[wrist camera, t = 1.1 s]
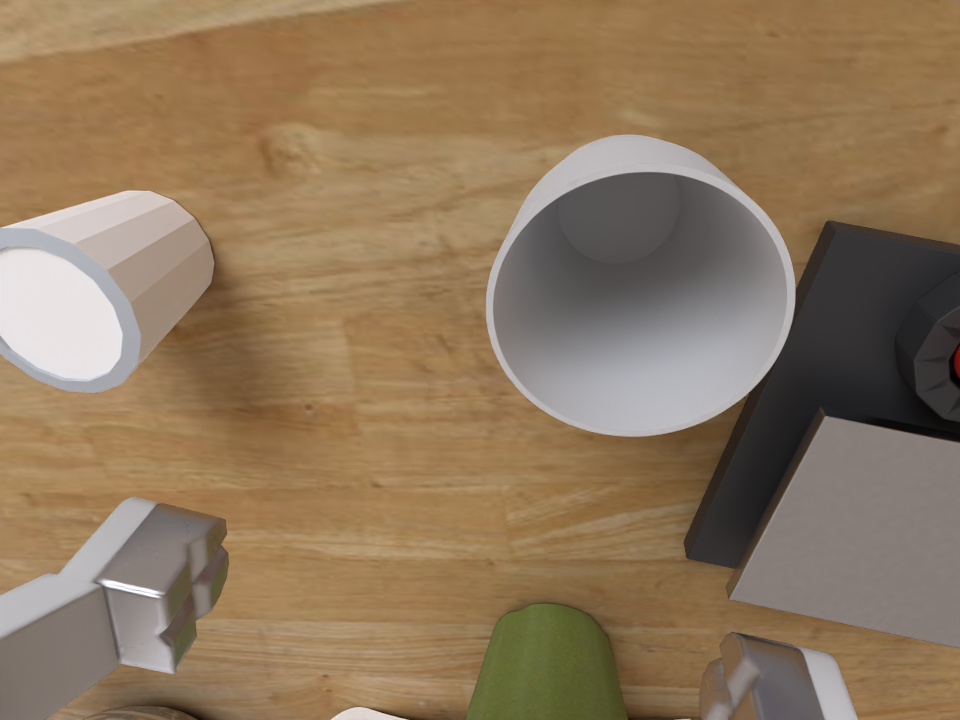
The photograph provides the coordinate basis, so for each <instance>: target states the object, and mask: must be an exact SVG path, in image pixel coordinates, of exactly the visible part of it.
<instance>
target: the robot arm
mask: <svg viewBox="0 0 960 720" xmlns="http://www.w3.org/2000/svg"><path fill="white" fill-rule="evenodd" d="M226 535H227V528H226V520H225V519H222V518H219V517H215V516H211V515H207V514H203V513H199V512H195V511H192V510H188V509H184V508H180V507H176V506H172V505H168V504H164V503H159V502H155V501H151V500H147V499H142V498H138V497H134V496H132V497H130V498H128V499H126V500H125V501H123V502H121V503H120V504H119V506H118V507H117V508H116V509H115V510H114V511H113V512H112V513H111V515H110V516H109V517H108V518H107V519H106V520H105V521H104V523H103V524H102V525H101V526H100V527H99V528H98V529H97V530H96V532H95V533H94V534H93V535H92V536H91V537H90V538H89V539H88V541H87V542H86V543H85V544H84V545H83V546H82V547H81V549H80V550H79V551H78V552H77V553H76V554H75V555H74V556H73V558H72V559H71V560H70V561H69V562H68V563H67V564H66V565H65V567H64V568H63V569H62V570H61V571H60V572H59V573H58V575H57V574H52V573H46V574H44V575H42V576H40V577H38V578H36V579H34V580H31V581H29V582H27V583H25V584H23V585H21V586H19V587H17V588H14V589H12V590H10V591H8V592H6V593H4V594H2V595H0V720H46V719H47V718H48V717H50V716H51V715H53V714H54V713H55V712H57V711H58V710H59V709H61V708H62V707H64V706H65V705H66V704H68V703H69V702H71V701H72V700H73V699H75V698H76V697H78V696H79V695H80V694H82V693H83V692H85V691H86V690H87V689H89V688H90V687H92V686H93V685H94V684H96V683H97V682H99V681H100V680H101V679H103V678H104V677H106V676H107V675H108V674H110V673H111V672H113V671H114V670H115V669H117V668H118V667H119V663H121V664H126V665H131V666H136V667H141V668H146V669H151V670H155V671H160V672H165V673H170V674H174V673H175V672H176V670H177V668H178V667H179V665H180V663H181V662H182V660H183V658H184V657H185V655H186V653H187V652H188V650H189V648H190V646H191V645H192V643H193V641H194V640H195V638H196V636H197V634H196V623H195V621H196V620H198V619H199V618H201V617H203V616H204V615H206V614H208V613H209V612H211V611H212V609H213V607H214V605H215V604H216V602H217V600H218V598H219V596H220V594H221V591H222V589H223V586H224V583H225V581H226V578H227V572H228V565H229V559H228V552H227V551H226V550H225V549H224V548H223V546H222V545H221V543H222V542H223V540H224V538H225V537H226ZM720 651H721V656H722V657H721V658H719V659H717V660H714V661H712V662H710V663H709V664H708V666H707V668H706V670H705V672H704V674H703V676H702V682H701V687H700V693H699V701H700V714H701V720H858V717H857V715H856V712H855V709H854V707H853V704H852V701H851V699H850V696H849V693H848V691H847V688H846V685H845V683H844V680H843V678H842V675H841V672H840V670H839V667H838V664H837V662H836V660H835V659H834V658H833V657H832V655H831V654H829V653H825V652H820V651H816V650H811V649H807V648H802V647H798V646H794V645H792V644H787V643H782V642H778V641H773V640H768V639H763V638H759V637H754V636H749V635H744V634H740V633H735V632H731V633H729V634H727V635H726V636H725V637H724V639H723V641H722V642H721V644H720Z"/></svg>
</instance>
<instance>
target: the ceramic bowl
mask: <svg viewBox="0 0 960 720" xmlns="http://www.w3.org/2000/svg"><path fill="white" fill-rule="evenodd" d="M83 720H197V719H196V718H194V717H192V716H190V715H188V714H186V713H184V712H181V711H178V710H175V709H171V708H167V707H158V706H126V707H120V708H113V709H109V710H105V711H102V712H99V713H97V714H94V715H92V716H89V717H87V718H85V719H83Z"/></svg>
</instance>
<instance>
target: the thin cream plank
mask: <svg viewBox="0 0 960 720" xmlns="http://www.w3.org/2000/svg"><path fill="white" fill-rule="evenodd" d="M331 720H407V719H403V718H399V717H395V716H391V715H387V714H384V713H381V712H377V711H374V710H371V709H368V708H364V707H355V708H351V709H348V710H345V711H343V712H341V713H339V714H338V715H336V716H335V717H334V718H333V719H331ZM676 720H691V719H676Z"/></svg>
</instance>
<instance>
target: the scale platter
mask: <svg viewBox="0 0 960 720" xmlns="http://www.w3.org/2000/svg"><path fill="white" fill-rule="evenodd" d="M726 591H727V595H728V599H730V600H734V601H739V602H744V603H748V604H753V605H758V606H762V607H767V608H772V609H777V610H781V611H786V612H791V613H796V614H800V615H805V616H810V617H814V618H819V619H824V620H829V621H833V622H838V623H843V624H847V625H852V626H857V627H862V628H866V629H871V630H876V631H881V632H885V633H890V634H895V635H899V636H904V637H909V638H914V639H918V640H923V641H928V642H932V643H937V644H942V645H947V646H951V647H956V648H960V434H959V433H954V432H949V431H944V430H939V429H934V428H929V427H924V426H919V425H914V424H908V423H903V422H898V421H893V420H888V419H883V418H878V417H873V416H868V415H863V414H858V413H853V412H848V411H843V410H838V409H833V408H828V407H823V406H820V407H819V408H818V410H817V412H816V414H815V416H814V418H813V420H812V422H811V424H810V425H809V427H808V429H807V431H806V433H805V435H804V437H803V439H802V441H801V443H800V445H799V447H798V449H797V450H796V452H795V454H794V456H793V458H792V460H791V462H790V464H789V466H788V468H787V470H786V472H785V474H784V475H783V477H782V479H781V481H780V483H779V485H778V487H777V489H776V491H775V493H774V495H773V497H772V499H771V500H770V502H769V504H768V506H767V508H766V510H765V512H764V514H763V516H762V518H761V520H760V522H759V524H758V525H757V527H756V529H755V531H754V533H753V535H752V537H751V539H750V541H749V543H748V545H747V547H746V549H745V550H744V552H743V554H742V556H741V558H740V560H739V562H738V564H737V566H736V568H735V570H734V572H733V574H732V575H731V577H730V579H729V581H728V583H727V585H726Z"/></svg>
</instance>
